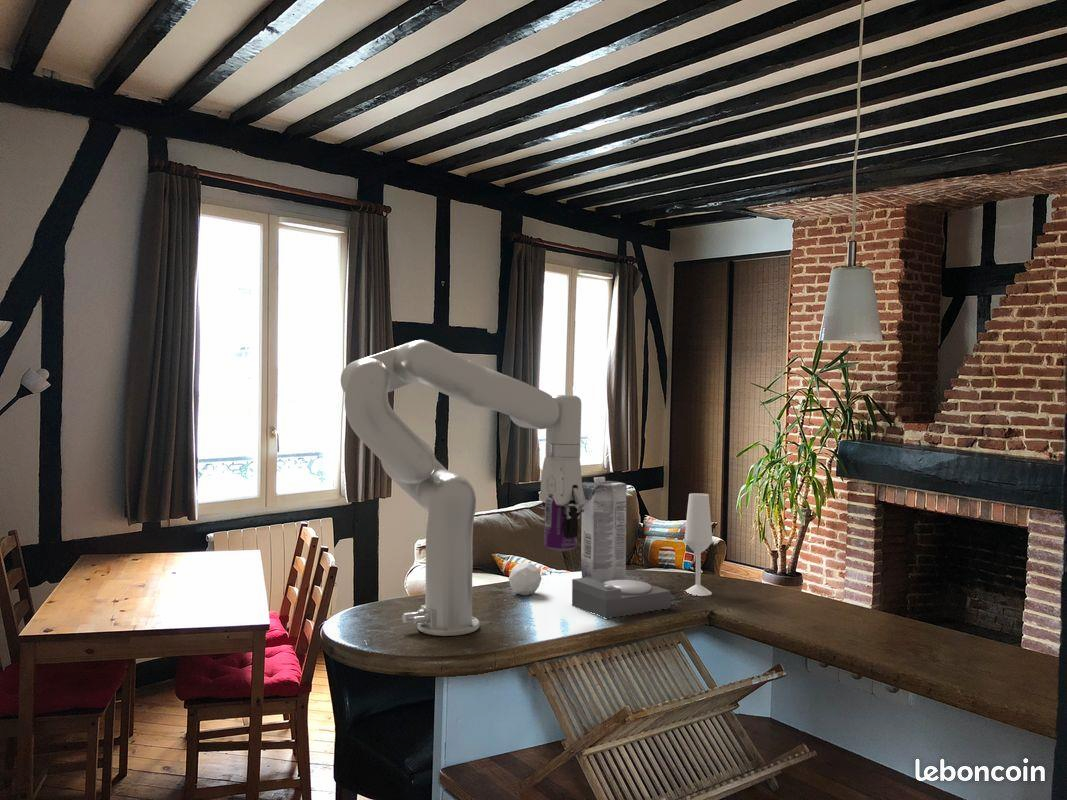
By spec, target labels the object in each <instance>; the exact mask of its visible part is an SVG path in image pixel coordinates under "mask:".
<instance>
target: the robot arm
mask: <svg viewBox="0 0 1067 800" xmlns="http://www.w3.org/2000/svg"><path fill="white" fill-rule="evenodd" d="M415 383H419V384H421V385H423V386H426V387H428V388H429V389H432V390H435V391H437V392H439V393H442V394H444V395H446V396H449V397H451V398H453V399H455V400H457V401H460V402H461V403H464V404H466V405H470V406H473V407H479V408H484V409H489V410H492V411H496V412H499V413H501V414H504V415H508V416H509V418H510V420H511V421H512V422H513V424H515V425H516V426H518V427H520V428H524V429H537V430H545V457H544V460H543V465H542V471H541V480H540V492H539V495H540V496H539V497H540V500H541V502H542V503H541V504H542V505H543V506H542V507H543V513H544V514H545V501H546V499H547V498H548V497H549V495H548V494H552V495H553V496H552V497H553V499H554V501H555V503H556V505H558V506H564V510H565V514H566V518H567V519H564V537H565V538H572V537H577V538H578V536H579V535H578V534H579V532H578V531H579V519H580V517H581V514H582V509H583V507H584V505H585V501H584V499H583V497H582V483H583V481H582V480H583V479H582V477H583V476H582V468H581V467H582V465H581V446H582V445H581V441H582V439H581V437H582V436H581V435H582V433H581V432H582V399H581V398H580V397H579V396H578V395H571V394H553V395H551V394H549V393H547V392H546V391H544V390H542V389H540V388H537V387H535V386H534V385H531V384H528V383H527V382H524V381H521V380H519V379H518V378H517V379H516V378H515V377H512V376H509V375H506V374H503V373H501V372H499V371H497V370H494V369H493V368H492V369H491V368H489V367H486V366H483V365H481V364H479V363H476V362H475V361H472V360H470V359H468V358H465V357H463V356H461V355H459V354H457V353H455V352H453V351H451V350H449V349H447V348H445V347H443V346H439V345H438V344H435V343H434V342H431V341H429V340H424V339H418V340H412V341H409V342H406V343H404V344H401V345H398V346H396V347H392V348H390V349H388V350H385V351H380V352H378V353H376V354H373V355H369V356H366V357H364V358H363V357H362V358H359V359H357V360H354V361H352V362H350V363H348V364H347V365H346V366H345V367H344V368H343V371H342V372H341V374H340V385H341V389H342V391H343V392H344V410H345V414H346V415H345V416H346V418H347V421H348V423H349V426H350V428H351V430H352V431H353V432H354V434H355V435H356V436H357V437H358V439H360V441H361V442H362V443H363V444H365V446H366V447H367V448H368V449H369V450H370V451H371V452H372V453H373V454H374V455H375V456H376V457H377V458H378V459H379V460H380V463H381V467H382V468H383V470H384V472H385V473H386V474H387V475H388V477H389V478H390V479H392V481H393V482H394V483H396V484H397V485H398V486H399V487H400V488H401V489H402V490H403V491H404V492H405V493H406V494H407V495H408V496H410V498H411V499H413V501H414V502H416V503H417V504H418V505H419V506H420V507H422V508H423V509H424V510H425V511H427V514H428V515H427V524H426V531H425V532H426V533H425V588H424V589H425V594H424V595H425V596H424V597H425V600H424V601H425V603H424V604H421V605H420V609H417V610H416V611H410V612H409V611H408V612H403V613H402V615H401V619H402V623H403V624H405V623H406V624H407V623H413V624H414V625H417V630H418V631H419V632H421V633H423V634H427V635H432V636H440V637H441V636H442V637H449V636H451V637H452V636H462V635H467V634H471V633H474V632H475V631H477V630H478V629H479V628H480V620H479V619H478V618H477V617H475V616H473V535H474V522H475V516H476V515H475V514H476V508H477V496H476V491H475V489H474V487H473V485H472V484H471V482H470V481H469V480H468V479H467V478H466V477H464V476H462V475H461V474H458V473H456V472H451V471H449V470H448V469H446V467H444V465H443V464H442V463H441V462H440V461H438V460H437V458H436V455H435V452H434V451H433V449H432V447H431V446H430V445H429V444H428V443H427V442H426V441H425V440H424V439H422V438H421V437H420V436H419V435H418V434H417V433H416V432H414V430H413V429H411V428H410V426H409V425H407V424H406V422H404V421H403V419H401V417H400V416H399V415H397V413H396V412H395V410H394V409H393V408H392V406H391V405H390V402H389V396H388V395H389V394H388V393H391V392H393V391H396V390H398V389H401V388H404V387H406V386H409V385H412V384H415ZM569 501H574V503H573V504H568V503H569ZM569 507H573V508H572V510H571V511H570V509H569Z"/></svg>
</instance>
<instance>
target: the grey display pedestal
mask: <svg viewBox="0 0 1067 800" xmlns="http://www.w3.org/2000/svg"><path fill="white" fill-rule="evenodd" d="M571 584H572V585H571V586H572V587H571V591H572V592H571V593H572V594H571V606H572V607H574V606H575V608H577V607H578V608H577V609H579V608H580V610H582V609H583V610H582V611H584V610H586V611H585V612H587V611H589V612H592V613H595V614H598V615H600V616H602V617H605V618H610V617H617V618H619V617H618V616H623V617H627V616H626V615H629V616H633V615H632V614H635V615H638V614H637V613H641V612H646V611H651V610H659V609H664V608H670V607H671V604H672V603H671V600H672V595H671V594H672V590H669V589H665V588H662V587H660V586H656V585H653V584H650V583H649V582H648V583H647V582H645V581H642V580H641V581H640V580H638V579H625V580H611V581H607V582H604V583H602V582H599V581H596V580H593V579H590V578H587V577H586V578H582V577H581V578H580V577H579V578H573V579H571ZM659 611H660V610H659ZM589 612H588V613H589ZM592 613H591V614H592ZM641 614H642V613H641Z"/></svg>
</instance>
